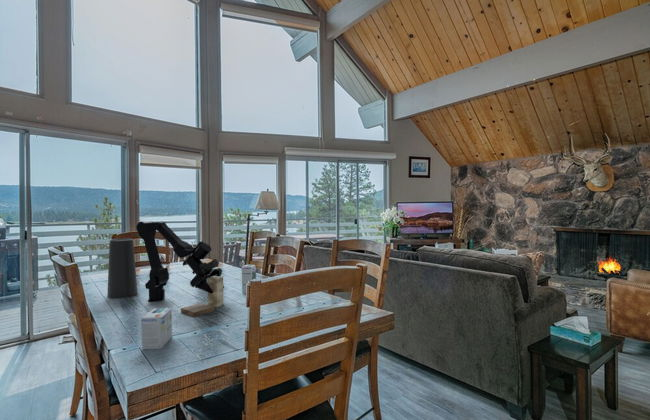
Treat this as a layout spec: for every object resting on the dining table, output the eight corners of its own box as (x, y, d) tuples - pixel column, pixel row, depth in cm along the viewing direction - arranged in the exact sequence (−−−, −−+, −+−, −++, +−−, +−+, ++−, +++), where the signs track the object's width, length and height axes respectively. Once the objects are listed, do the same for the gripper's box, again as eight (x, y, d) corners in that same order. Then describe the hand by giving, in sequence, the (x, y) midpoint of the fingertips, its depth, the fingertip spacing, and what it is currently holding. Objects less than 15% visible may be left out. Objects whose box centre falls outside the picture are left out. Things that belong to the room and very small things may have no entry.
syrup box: (252, 294, 188) (252, 266, 188) (241, 293, 189) (241, 266, 189) (256, 291, 194) (256, 264, 193) (246, 291, 195) (245, 264, 194)
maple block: (207, 306, 168) (207, 278, 167) (214, 303, 172) (213, 276, 172) (217, 306, 166) (217, 278, 166) (223, 303, 171) (223, 276, 171)
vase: (101, 297, 184) (99, 240, 183) (124, 290, 197) (123, 237, 196) (120, 299, 179) (119, 241, 178) (143, 293, 192) (142, 238, 191)
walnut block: (180, 313, 158) (180, 308, 158) (200, 308, 166) (200, 302, 166) (194, 318, 152) (194, 312, 152) (214, 312, 160) (214, 306, 160)
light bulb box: (153, 337, 129) (152, 307, 129) (172, 337, 130) (172, 307, 130) (140, 350, 119) (140, 317, 118) (162, 349, 119) (161, 316, 119)
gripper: (195, 257, 161) (217, 283, 158) (218, 251, 179) (239, 275, 176) (180, 274, 163) (202, 300, 160) (205, 266, 181) (224, 290, 178)
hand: (218, 290), depth 169 cm, fingers open, 9 cm apart
